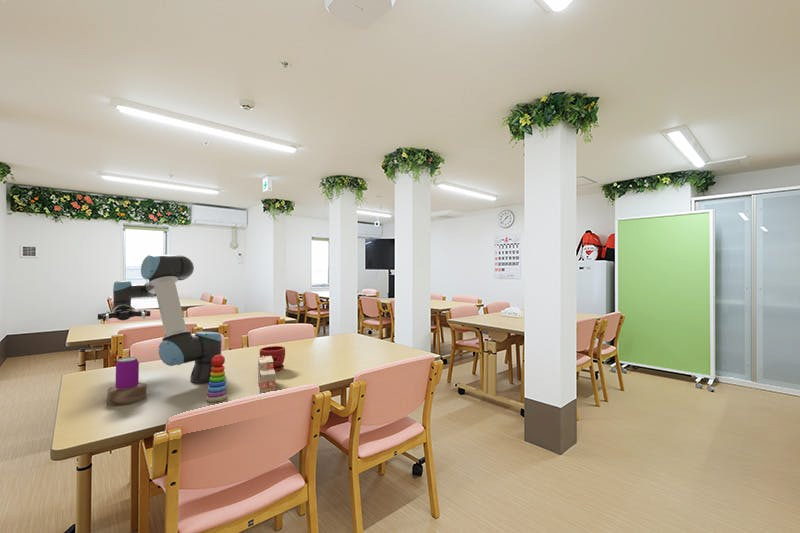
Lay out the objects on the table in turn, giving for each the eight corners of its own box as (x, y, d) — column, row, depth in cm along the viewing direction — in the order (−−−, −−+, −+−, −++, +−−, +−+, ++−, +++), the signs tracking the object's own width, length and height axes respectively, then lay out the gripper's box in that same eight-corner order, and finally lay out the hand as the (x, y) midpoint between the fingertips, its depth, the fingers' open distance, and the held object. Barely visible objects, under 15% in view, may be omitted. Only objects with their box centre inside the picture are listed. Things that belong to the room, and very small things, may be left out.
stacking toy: (218, 403, 146) (219, 357, 146) (201, 401, 148) (202, 356, 148) (231, 396, 154) (231, 353, 154) (215, 395, 155) (215, 352, 155)
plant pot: (289, 367, 199) (289, 345, 199) (277, 374, 186) (277, 351, 186) (267, 365, 201) (268, 344, 201) (254, 372, 188) (254, 350, 188)
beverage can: (121, 385, 152) (122, 356, 152) (142, 384, 153) (142, 356, 153) (111, 391, 144) (111, 361, 144) (132, 390, 146) (133, 360, 146)
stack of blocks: (275, 394, 158) (275, 366, 158) (260, 396, 155) (260, 368, 155) (271, 379, 177) (271, 355, 177) (257, 381, 175) (258, 356, 174)
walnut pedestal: (153, 394, 155) (153, 383, 155) (128, 406, 142) (128, 393, 142) (125, 393, 156) (125, 381, 156) (98, 404, 143) (98, 392, 143)
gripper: (152, 317, 191) (158, 322, 175) (91, 321, 175) (90, 327, 159) (152, 303, 191) (158, 307, 175) (91, 306, 175) (91, 311, 159)
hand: (126, 317), depth 167 cm, fingers open, 13 cm apart
